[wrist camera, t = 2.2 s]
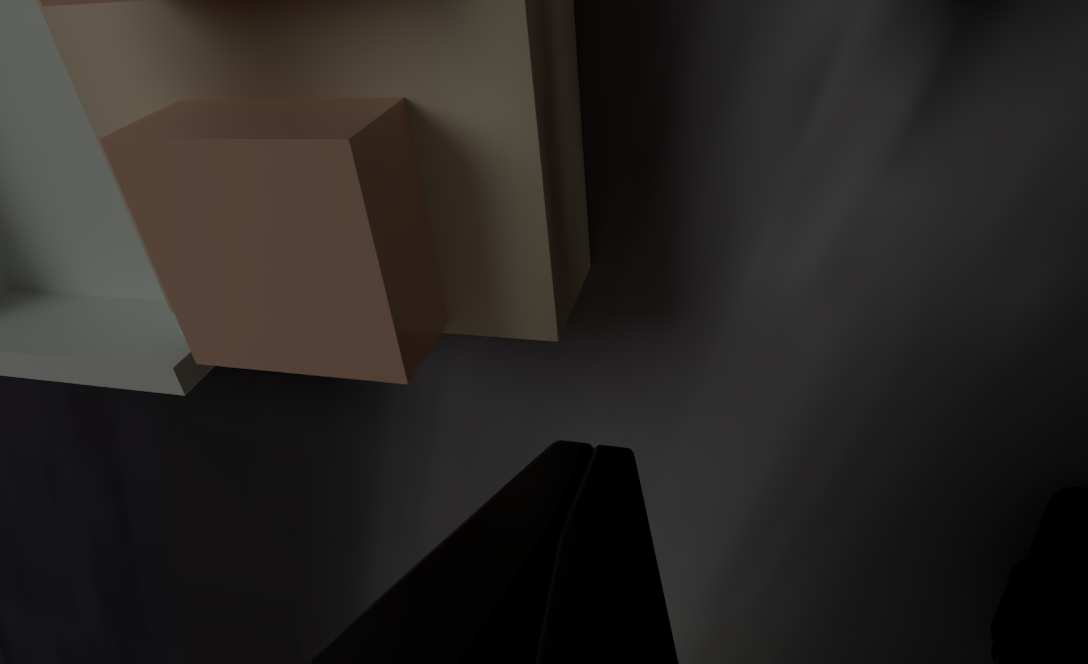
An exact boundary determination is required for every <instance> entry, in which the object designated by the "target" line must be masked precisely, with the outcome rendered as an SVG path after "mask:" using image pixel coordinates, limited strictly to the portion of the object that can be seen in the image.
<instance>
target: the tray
mask: <svg viewBox="0 0 1088 664" xmlns="http://www.w3.org/2000/svg"><path fill="white" fill-rule="evenodd" d="M214 367H215V366H212V365H202V364H196V363H195V360H194V358H193V356H192V353H191V351H190V349H189V346H188V344H187V342H186V339H185V337H184V335H183V332H182V330H181V328H180V325H179V323H178V321H177V318H176V316H175V314H174V313H171V310H170V308H169V306H168V303H167V301H166V299H165V296H164V294H163V292H162V290H161V287H160V285H159V283H158V280H157V278H156V276H155V273H154V271H153V269H152V266H151V264H150V262H149V259H148V257H147V255H146V252H145V250H144V248H143V246H142V243H141V241H140V239H139V236H138V234H137V232H136V229H135V227H134V225H133V222H132V220H131V218H130V215H129V213H128V211H127V208H126V206H125V204H124V202H123V199H122V197H121V195H120V192H119V190H118V188H117V185H116V183H115V181H114V178H113V176H112V174H111V171H110V169H109V167H108V164H107V162H106V160H105V158H104V155H103V153H102V151H101V148H100V146H99V144H98V141H97V139H96V137H95V134H94V132H93V130H92V127H91V125H90V123H89V121H88V118H87V116H86V114H85V111H84V109H83V107H82V104H81V102H80V100H79V97H78V95H77V93H76V90H75V88H74V86H73V83H72V81H71V79H70V77H69V74H68V72H67V70H66V67H65V65H64V63H63V60H62V58H61V56H60V53H59V51H58V49H57V46H56V44H55V42H54V39H53V37H52V35H51V33H50V30H49V28H48V26H47V23H46V21H45V19H44V16H43V14H42V12H41V9H40V7H39V5H38V2H37V0H0V375H3V376H12V377H21V378H30V379H39V380H48V381H57V382H66V383H75V384H84V385H94V386H103V387H112V388H121V389H130V390H139V391H148V392H157V393H166V394H175V395H184V396H185V395H186V394H187V393H188V392H189V391H190V390H191V389H192V388H193V387H194V386H195V385H196V384H197V383H199V382H200V381H201V380H202V379H203V378H204V377H205V376H206V375H207V374H208V373H209V372H210V371H211V370H212V369H213V368H214Z"/></svg>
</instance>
